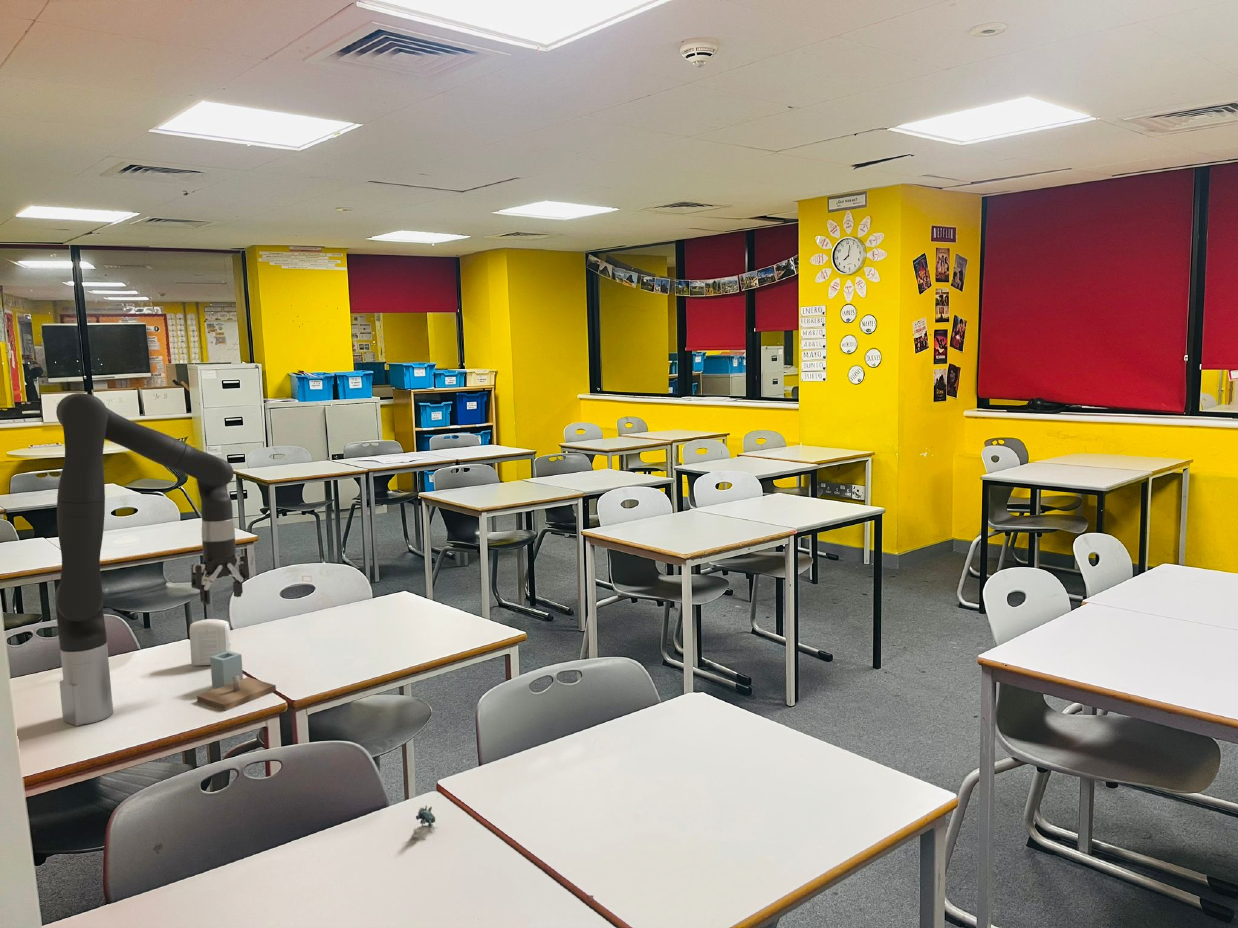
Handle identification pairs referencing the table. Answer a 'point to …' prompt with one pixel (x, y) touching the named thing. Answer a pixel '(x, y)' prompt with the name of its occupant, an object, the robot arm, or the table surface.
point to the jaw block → (225, 668)
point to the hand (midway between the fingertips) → (222, 600)
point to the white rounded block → (208, 640)
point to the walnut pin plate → (236, 693)
